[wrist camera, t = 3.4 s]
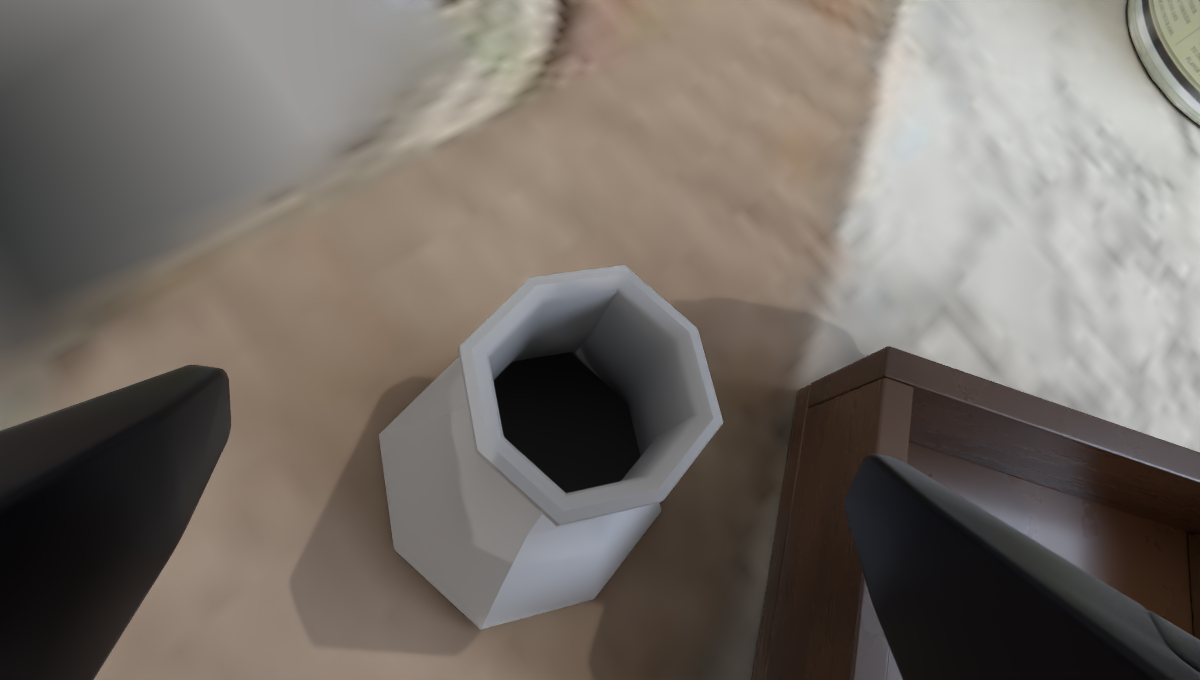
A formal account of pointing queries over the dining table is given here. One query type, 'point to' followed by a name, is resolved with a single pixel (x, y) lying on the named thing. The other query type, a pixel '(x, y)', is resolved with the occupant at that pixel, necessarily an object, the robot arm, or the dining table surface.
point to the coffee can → (1170, 48)
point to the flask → (548, 444)
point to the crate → (979, 474)
